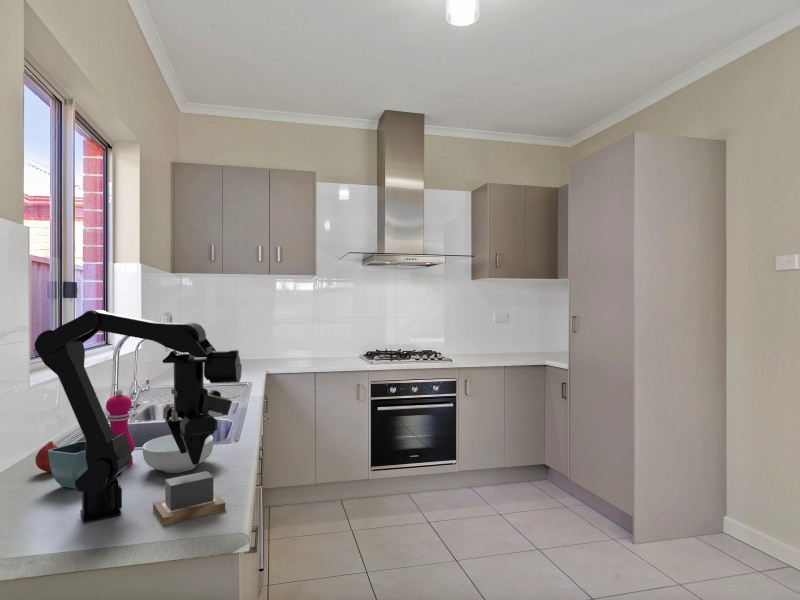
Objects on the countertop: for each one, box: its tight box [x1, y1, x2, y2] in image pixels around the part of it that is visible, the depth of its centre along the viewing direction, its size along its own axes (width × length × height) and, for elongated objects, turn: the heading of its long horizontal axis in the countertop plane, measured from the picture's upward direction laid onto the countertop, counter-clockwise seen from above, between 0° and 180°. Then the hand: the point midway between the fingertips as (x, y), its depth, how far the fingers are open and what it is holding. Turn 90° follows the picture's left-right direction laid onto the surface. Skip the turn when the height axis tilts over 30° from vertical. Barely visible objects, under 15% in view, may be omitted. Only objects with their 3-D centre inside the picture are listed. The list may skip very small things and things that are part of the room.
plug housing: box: [164, 470, 214, 511], centre depth 106 cm, size 8×4×5 cm, turn 127°
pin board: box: [152, 490, 226, 526], centre depth 106 cm, size 12×9×2 cm
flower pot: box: [48, 440, 88, 490], centre depth 120 cm, size 9×9×9 cm
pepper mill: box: [105, 388, 136, 467], centre depth 134 cm, size 7×7×20 cm
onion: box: [34, 440, 59, 474], centre depth 129 cm, size 6×6×8 cm
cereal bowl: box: [142, 434, 214, 474], centre depth 132 cm, size 17×17×7 cm
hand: (189, 458), depth 106 cm, fingers open, 9 cm apart
